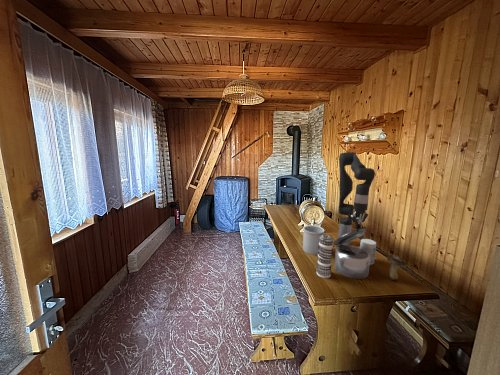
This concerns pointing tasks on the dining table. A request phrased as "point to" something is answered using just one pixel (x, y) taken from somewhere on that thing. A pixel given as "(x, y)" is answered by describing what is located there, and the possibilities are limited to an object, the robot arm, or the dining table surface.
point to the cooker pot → (352, 261)
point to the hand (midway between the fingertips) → (357, 229)
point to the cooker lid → (350, 236)
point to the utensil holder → (312, 239)
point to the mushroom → (395, 265)
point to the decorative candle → (325, 256)
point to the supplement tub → (369, 248)
